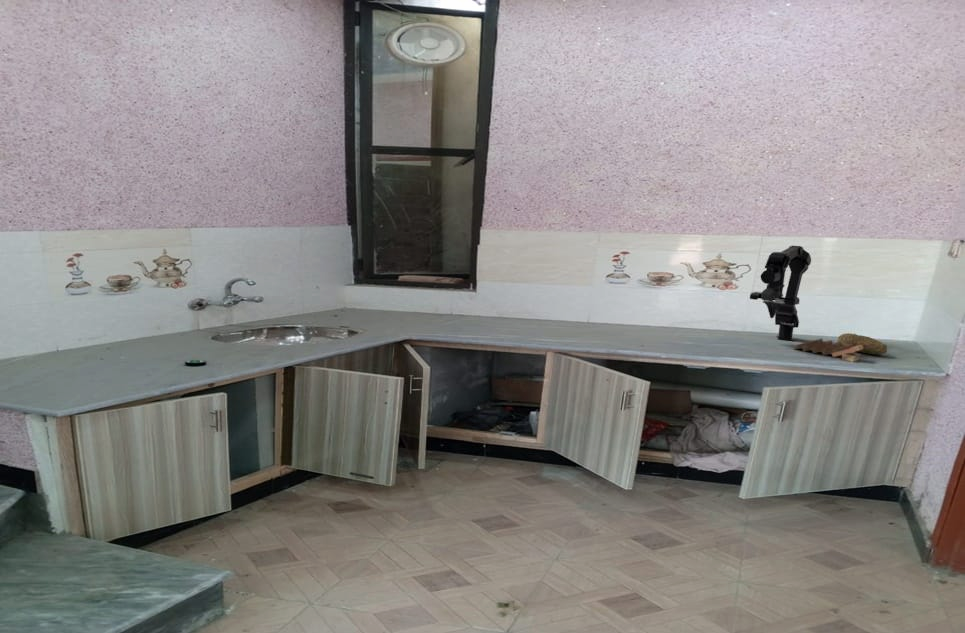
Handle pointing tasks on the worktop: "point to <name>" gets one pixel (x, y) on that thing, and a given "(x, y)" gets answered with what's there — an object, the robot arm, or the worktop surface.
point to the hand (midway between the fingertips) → (771, 318)
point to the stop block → (851, 357)
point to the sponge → (863, 343)
